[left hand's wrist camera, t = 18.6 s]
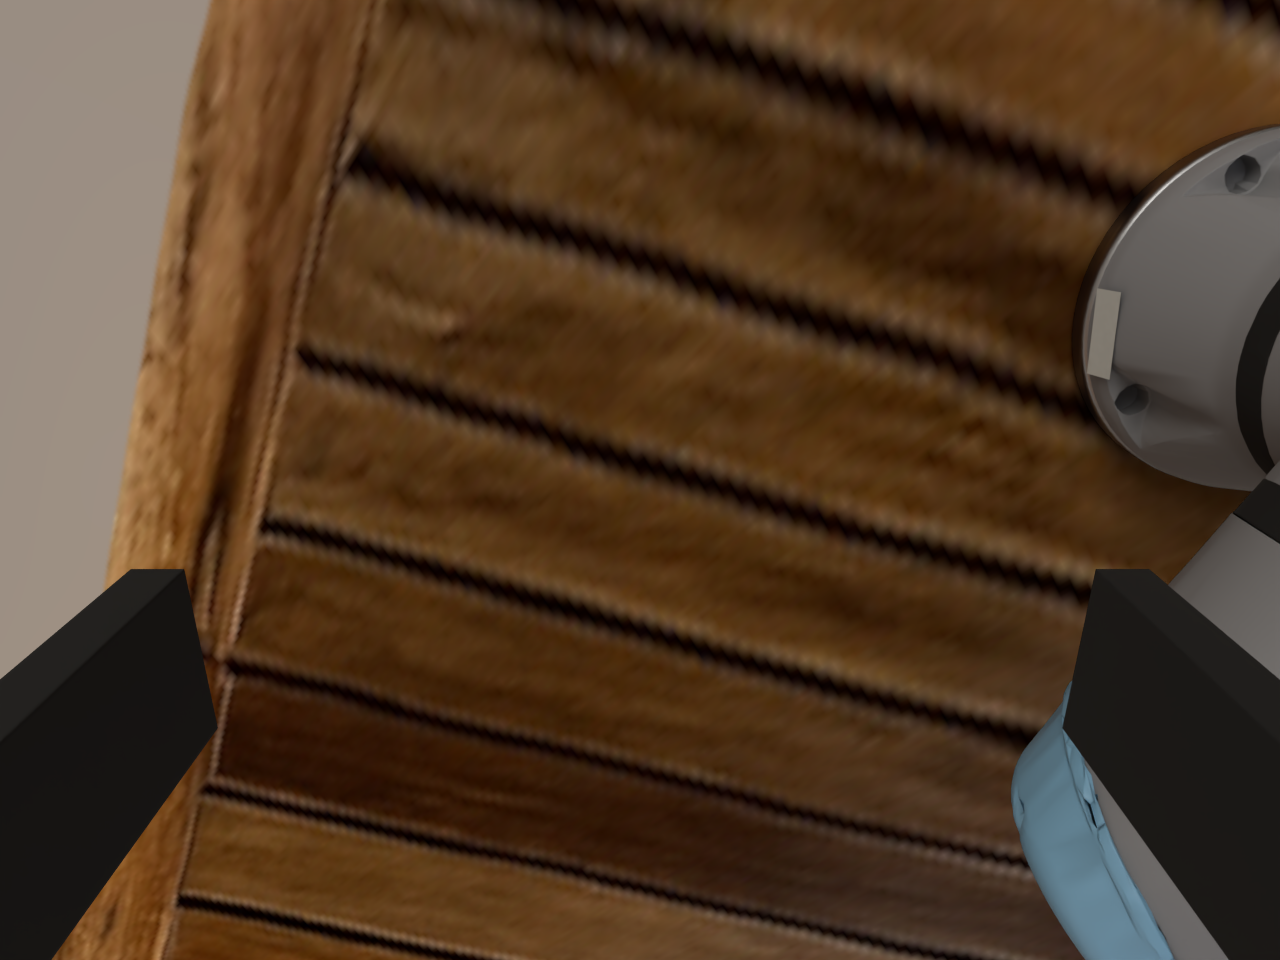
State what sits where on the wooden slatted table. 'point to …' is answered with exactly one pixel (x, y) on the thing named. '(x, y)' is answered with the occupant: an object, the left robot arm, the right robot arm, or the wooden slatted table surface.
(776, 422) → the wooden slatted table surface
